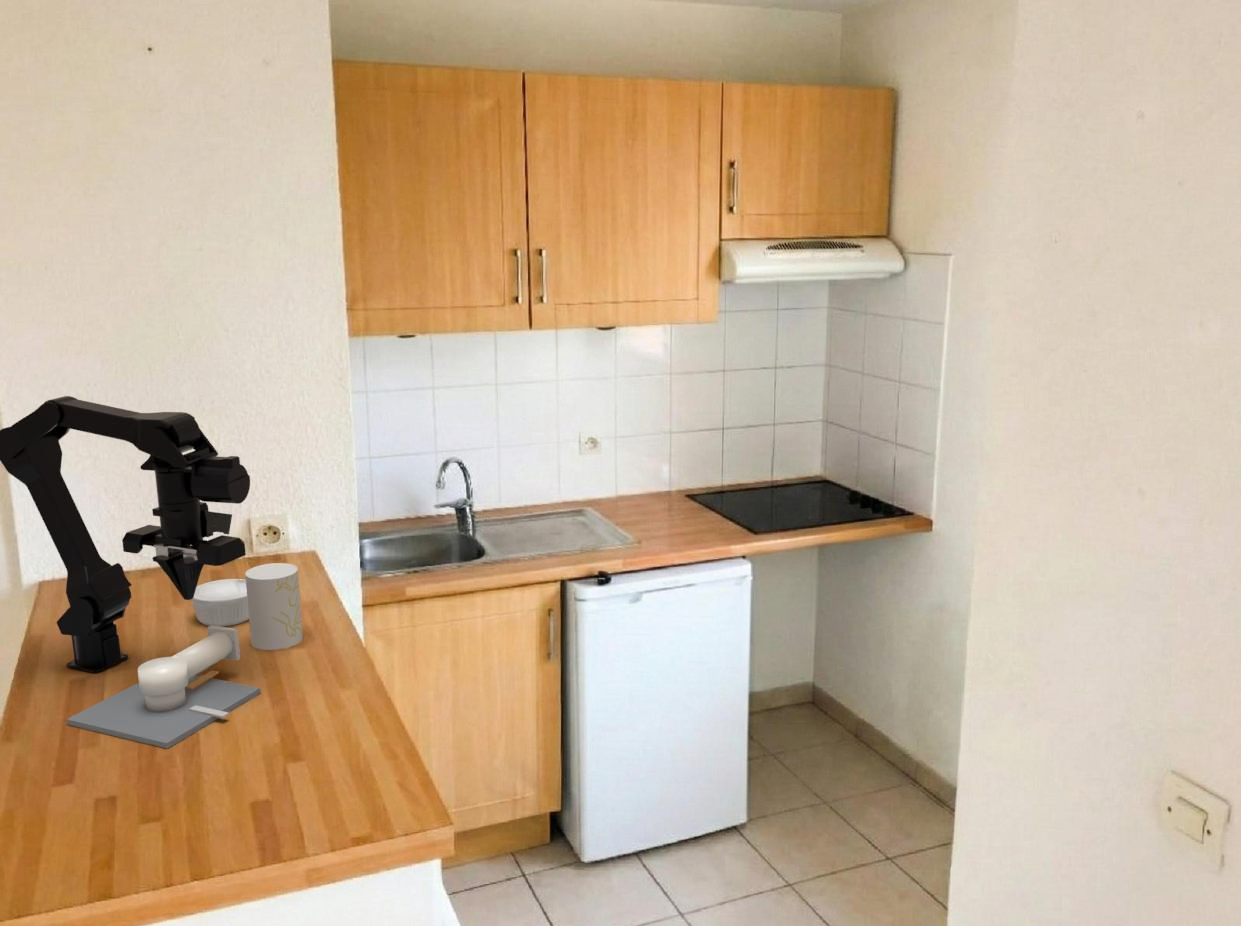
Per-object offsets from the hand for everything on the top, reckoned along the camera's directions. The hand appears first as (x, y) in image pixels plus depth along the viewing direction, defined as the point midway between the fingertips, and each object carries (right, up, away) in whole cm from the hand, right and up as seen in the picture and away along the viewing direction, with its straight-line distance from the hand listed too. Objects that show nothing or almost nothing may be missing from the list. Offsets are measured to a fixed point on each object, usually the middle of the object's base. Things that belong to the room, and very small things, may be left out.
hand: (188, 599), depth 162 cm
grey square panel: (+2, -14, -8) cm, 17 cm away
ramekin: (-4, -7, +25) cm, 26 cm away
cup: (+8, -9, +15) cm, 20 cm away
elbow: (+2, -11, -5) cm, 12 cm away
